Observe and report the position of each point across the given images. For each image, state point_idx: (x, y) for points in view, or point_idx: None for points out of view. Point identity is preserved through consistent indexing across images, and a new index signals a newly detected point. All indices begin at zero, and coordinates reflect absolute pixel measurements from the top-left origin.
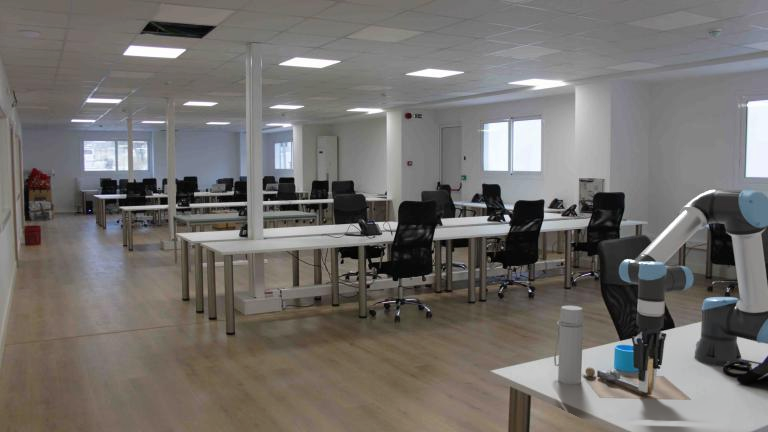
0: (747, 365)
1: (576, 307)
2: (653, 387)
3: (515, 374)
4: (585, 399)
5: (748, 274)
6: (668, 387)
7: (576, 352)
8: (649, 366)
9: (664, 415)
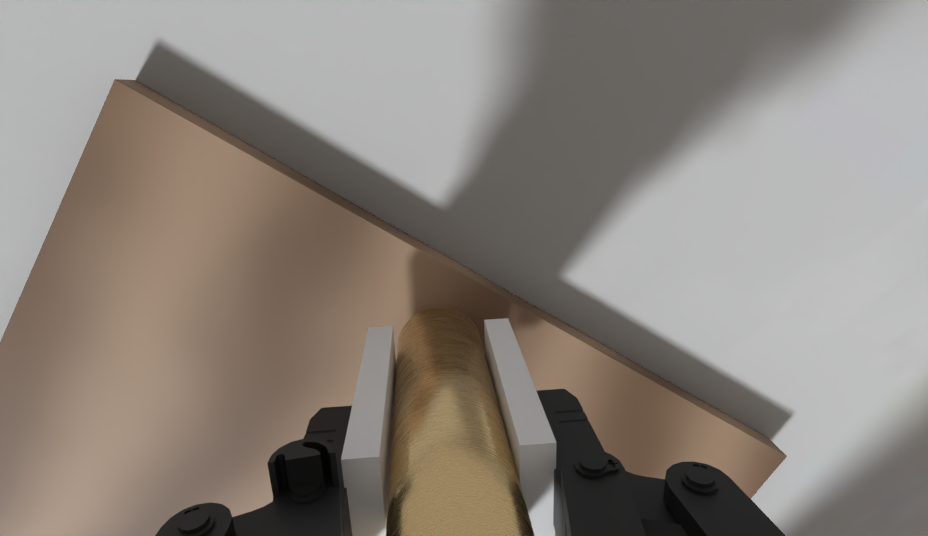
0: None
1: None
2: (392, 340)
3: None
4: (809, 497)
5: None
6: (78, 392)
7: None
8: (504, 495)
9: (611, 8)
